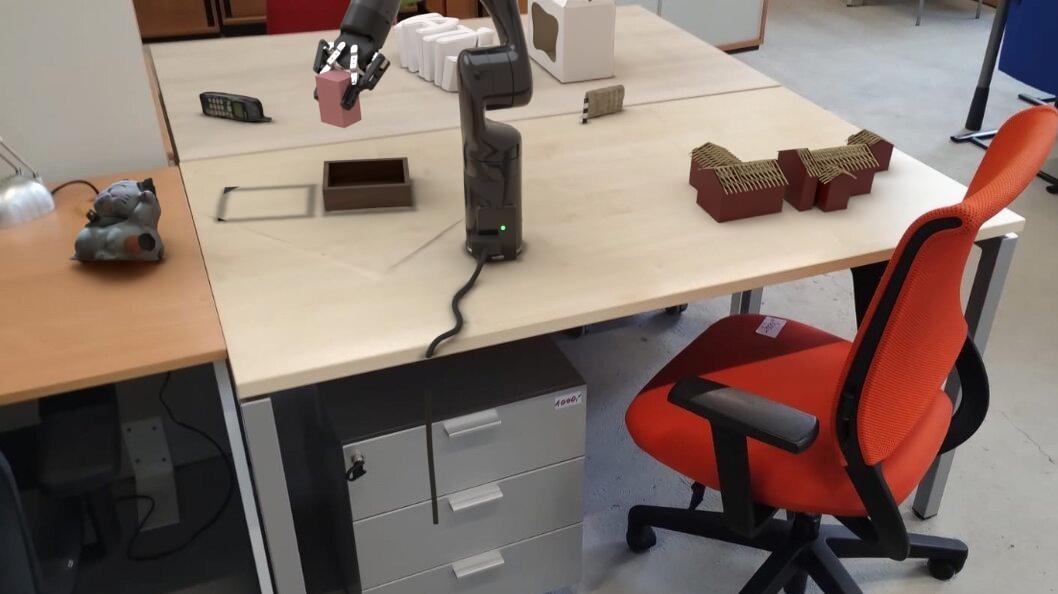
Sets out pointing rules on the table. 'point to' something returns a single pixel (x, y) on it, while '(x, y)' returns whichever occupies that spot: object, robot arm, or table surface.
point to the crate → (366, 184)
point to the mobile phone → (232, 106)
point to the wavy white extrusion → (437, 46)
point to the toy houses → (786, 177)
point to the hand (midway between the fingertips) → (331, 104)
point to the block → (335, 99)
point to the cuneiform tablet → (603, 101)
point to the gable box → (572, 37)
